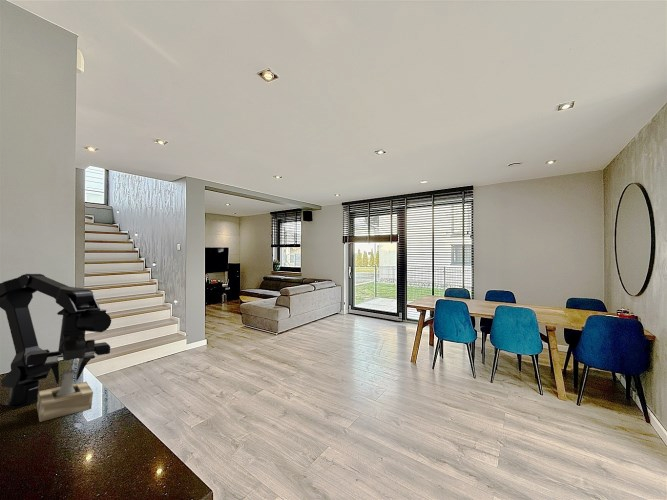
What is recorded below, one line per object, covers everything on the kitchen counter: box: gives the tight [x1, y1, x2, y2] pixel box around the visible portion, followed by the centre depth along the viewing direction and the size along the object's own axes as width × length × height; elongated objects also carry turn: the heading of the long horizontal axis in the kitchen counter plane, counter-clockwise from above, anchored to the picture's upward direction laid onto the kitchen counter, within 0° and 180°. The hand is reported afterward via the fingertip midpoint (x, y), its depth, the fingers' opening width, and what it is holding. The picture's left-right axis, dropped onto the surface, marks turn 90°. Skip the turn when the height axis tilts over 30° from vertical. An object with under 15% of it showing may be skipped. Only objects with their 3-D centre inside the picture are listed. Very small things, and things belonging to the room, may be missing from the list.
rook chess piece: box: [56, 369, 76, 397], centre depth 86 cm, size 4×4×8 cm
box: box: [36, 381, 94, 423], centre depth 85 cm, size 11×11×5 cm
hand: (67, 381), depth 86 cm, fingers open, 4 cm apart
